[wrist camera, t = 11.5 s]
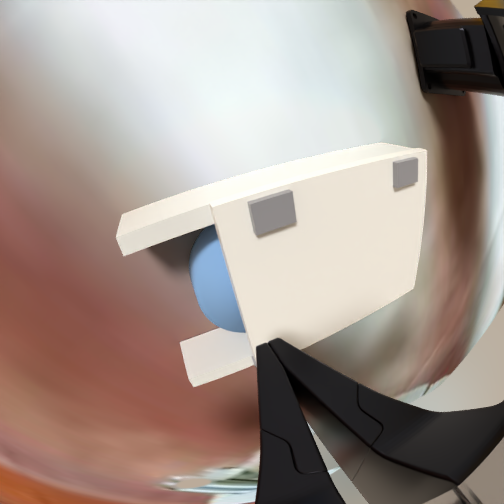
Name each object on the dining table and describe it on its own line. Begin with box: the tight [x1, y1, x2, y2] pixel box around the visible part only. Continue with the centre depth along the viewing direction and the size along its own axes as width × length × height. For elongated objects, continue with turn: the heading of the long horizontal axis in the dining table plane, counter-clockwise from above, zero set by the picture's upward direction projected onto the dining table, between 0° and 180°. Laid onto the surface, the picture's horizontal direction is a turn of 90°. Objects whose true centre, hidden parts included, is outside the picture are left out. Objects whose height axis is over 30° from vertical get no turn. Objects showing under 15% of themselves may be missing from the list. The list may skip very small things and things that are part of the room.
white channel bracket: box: [116, 142, 413, 387], centre depth 14 cm, size 15×9×3 cm, turn 103°
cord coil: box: [189, 224, 246, 333], centre depth 14 cm, size 6×6×3 cm
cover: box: [209, 148, 427, 361], centre depth 13 cm, size 11×9×1 cm
